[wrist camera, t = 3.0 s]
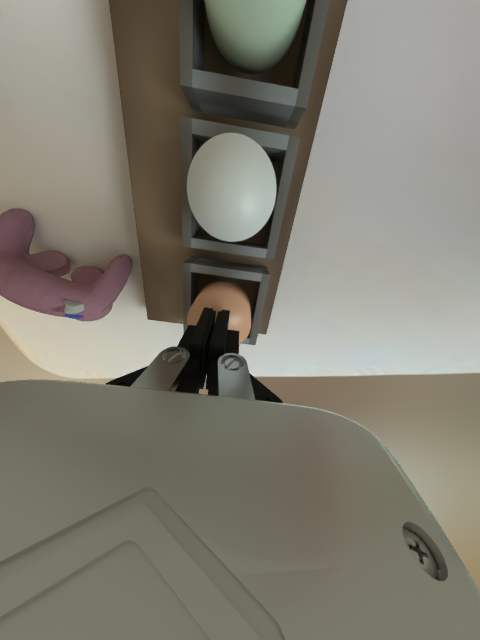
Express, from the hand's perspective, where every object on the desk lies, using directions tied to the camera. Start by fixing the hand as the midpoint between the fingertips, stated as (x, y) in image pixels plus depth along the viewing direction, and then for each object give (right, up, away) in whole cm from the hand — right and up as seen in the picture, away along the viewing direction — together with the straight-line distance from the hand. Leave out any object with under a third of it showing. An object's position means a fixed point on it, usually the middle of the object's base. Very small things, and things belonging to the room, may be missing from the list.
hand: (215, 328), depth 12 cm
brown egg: (0, +2, +3) cm, 4 cm away
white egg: (+1, +8, 0) cm, 8 cm away
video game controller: (-14, +6, +6) cm, 16 cm away
